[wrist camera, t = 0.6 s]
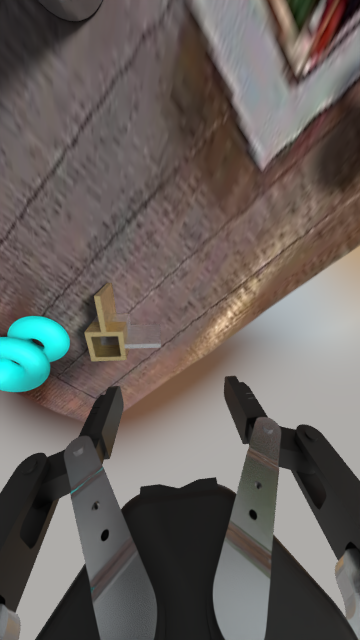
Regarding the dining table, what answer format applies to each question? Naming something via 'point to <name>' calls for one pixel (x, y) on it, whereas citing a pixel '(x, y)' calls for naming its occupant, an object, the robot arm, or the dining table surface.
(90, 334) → the bracket
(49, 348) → the donuts
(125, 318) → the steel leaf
